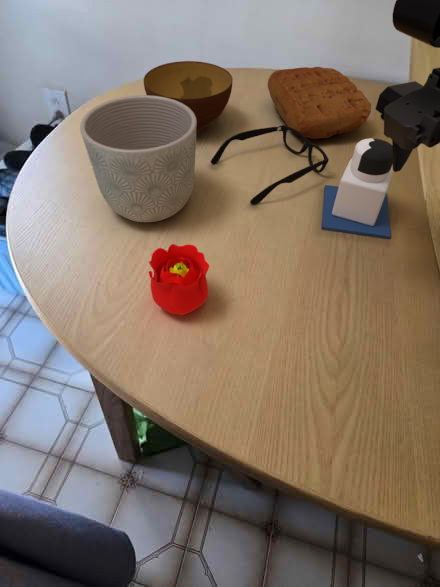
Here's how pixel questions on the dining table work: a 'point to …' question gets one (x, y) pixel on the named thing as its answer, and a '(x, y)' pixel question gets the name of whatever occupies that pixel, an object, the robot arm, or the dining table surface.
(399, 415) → the dining table surface
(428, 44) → the robot arm
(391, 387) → the dining table surface
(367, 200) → the medicine bottle
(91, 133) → the planter
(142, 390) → the dining table surface
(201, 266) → the flower
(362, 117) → the clay tablet
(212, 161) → the glasses
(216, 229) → the dining table surface
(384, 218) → the towel
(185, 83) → the bowl
